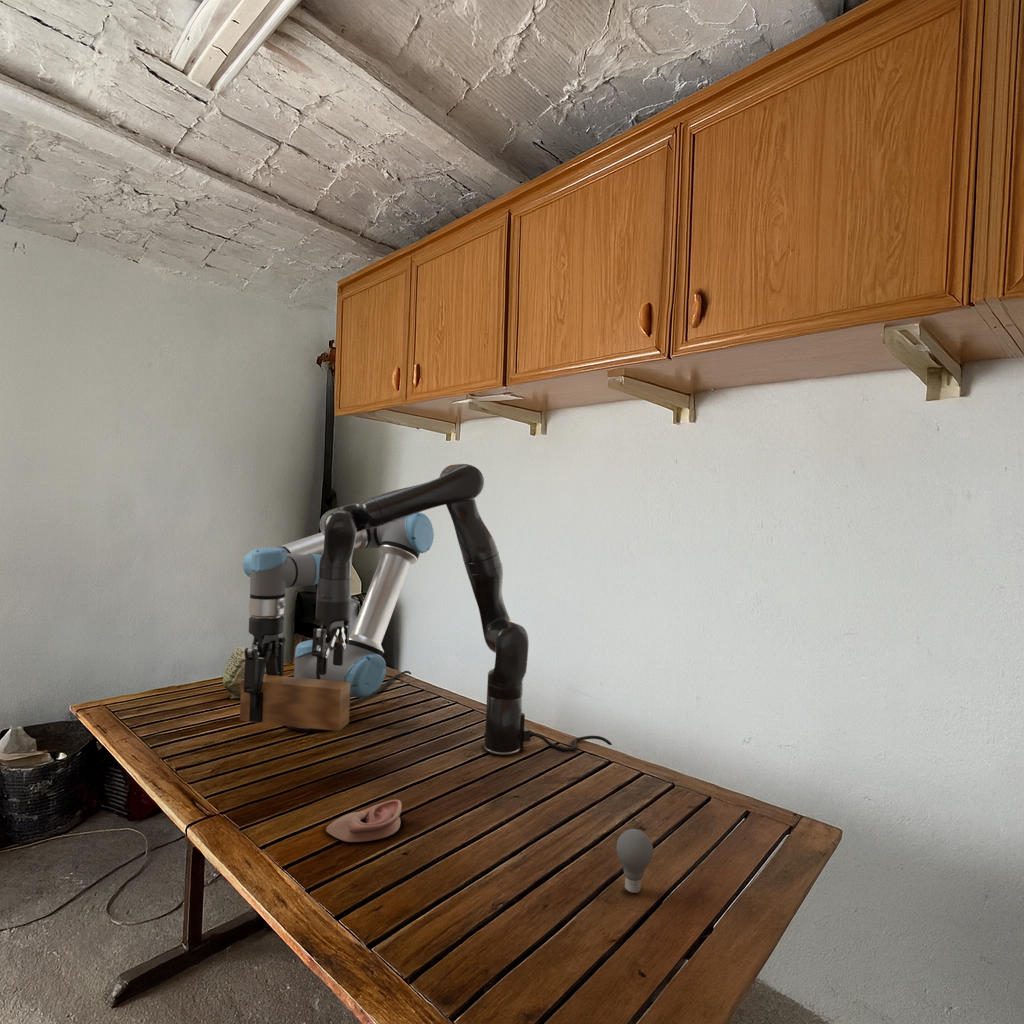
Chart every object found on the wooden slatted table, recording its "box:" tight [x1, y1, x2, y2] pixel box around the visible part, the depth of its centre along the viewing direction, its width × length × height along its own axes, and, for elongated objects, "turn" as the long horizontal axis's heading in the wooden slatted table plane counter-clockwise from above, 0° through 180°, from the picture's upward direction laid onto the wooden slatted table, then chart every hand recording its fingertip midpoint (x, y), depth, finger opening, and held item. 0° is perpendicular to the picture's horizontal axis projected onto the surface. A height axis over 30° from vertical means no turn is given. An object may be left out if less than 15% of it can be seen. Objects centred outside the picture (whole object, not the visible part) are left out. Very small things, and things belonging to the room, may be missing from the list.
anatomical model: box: [325, 799, 403, 843], centre depth 122 cm, size 13×4×12 cm
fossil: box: [222, 646, 267, 699], centre depth 198 cm, size 9×18×15 cm, turn 132°
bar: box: [239, 675, 351, 732], centre depth 144 cm, size 24×6×9 cm, turn 81°
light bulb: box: [615, 828, 654, 894], centre depth 106 cm, size 6×6×10 cm
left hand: (263, 716), depth 145 cm, fingers closed on bar, 5 cm apart
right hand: (329, 669), depth 143 cm, fingers open, 8 cm apart
